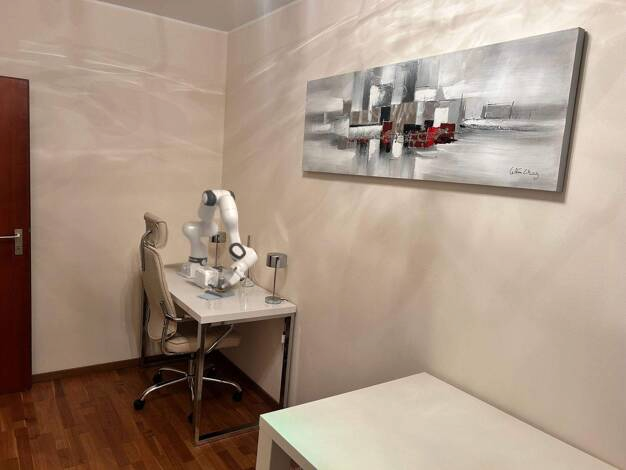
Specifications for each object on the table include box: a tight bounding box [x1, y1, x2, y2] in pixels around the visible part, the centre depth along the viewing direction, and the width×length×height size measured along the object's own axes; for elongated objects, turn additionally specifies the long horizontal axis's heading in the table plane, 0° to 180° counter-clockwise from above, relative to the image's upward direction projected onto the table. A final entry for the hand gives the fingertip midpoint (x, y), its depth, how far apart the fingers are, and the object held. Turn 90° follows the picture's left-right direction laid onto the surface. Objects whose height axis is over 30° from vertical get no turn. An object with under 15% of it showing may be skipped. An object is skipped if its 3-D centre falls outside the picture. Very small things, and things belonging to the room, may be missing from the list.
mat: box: [196, 293, 221, 301], centre depth 289 cm, size 10×9×1 cm
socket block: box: [206, 287, 236, 299], centre depth 298 cm, size 14×10×3 cm
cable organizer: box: [194, 266, 220, 289], centre depth 314 cm, size 15×11×12 cm
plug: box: [217, 276, 225, 293], centre depth 297 cm, size 5×5×10 cm
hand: (220, 285), depth 297 cm, fingers open, 8 cm apart
